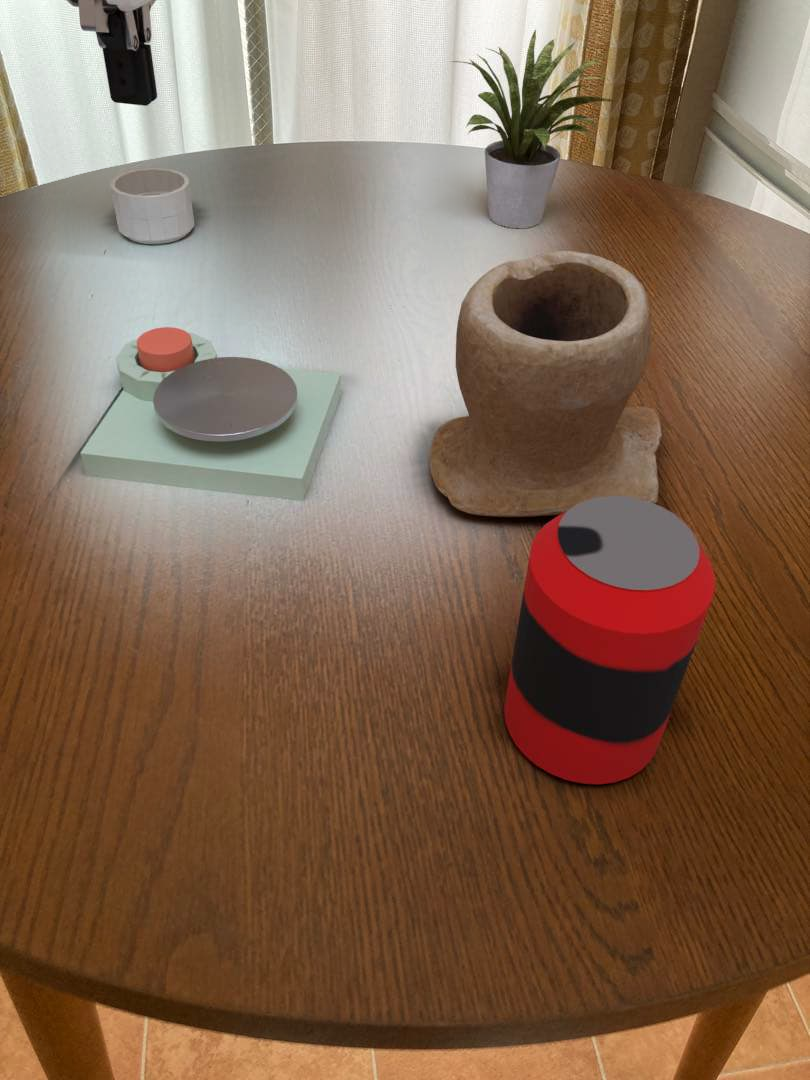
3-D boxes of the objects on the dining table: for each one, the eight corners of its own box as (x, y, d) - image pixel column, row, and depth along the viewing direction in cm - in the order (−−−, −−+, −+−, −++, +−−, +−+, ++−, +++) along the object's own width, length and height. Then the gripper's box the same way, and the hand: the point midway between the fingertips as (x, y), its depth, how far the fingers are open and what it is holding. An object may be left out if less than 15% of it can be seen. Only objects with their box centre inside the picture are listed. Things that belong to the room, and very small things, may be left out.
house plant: (486, 265, 82) (505, 66, 71) (408, 208, 91) (415, 23, 80) (611, 235, 88) (646, 46, 77) (526, 184, 96) (547, 8, 85)
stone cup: (439, 556, 54) (457, 324, 44) (422, 436, 62) (434, 220, 52) (693, 550, 55) (767, 322, 45) (641, 433, 63) (693, 221, 53)
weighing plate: (133, 433, 56) (131, 426, 55) (180, 356, 62) (179, 350, 62) (278, 449, 55) (277, 442, 55) (311, 370, 62) (310, 363, 61)
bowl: (108, 242, 83) (98, 193, 80) (135, 212, 88) (127, 165, 85) (181, 249, 82) (174, 200, 79) (204, 219, 87) (198, 171, 84)
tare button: (132, 371, 62) (128, 351, 60) (150, 344, 64) (147, 324, 63) (184, 376, 61) (181, 356, 60) (201, 349, 64) (198, 329, 63)
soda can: (492, 665, 48) (519, 483, 40) (636, 660, 48) (691, 479, 40) (516, 793, 42) (553, 611, 34) (678, 785, 43) (752, 605, 34)
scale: (74, 475, 58) (62, 430, 56) (145, 370, 67) (137, 327, 65) (303, 502, 57) (301, 457, 54) (343, 391, 66) (342, 348, 64)
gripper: (91, -184, 54) (140, 137, 67) (186, -200, 65) (213, 78, 78) (-25, -192, 55) (44, 126, 68) (87, -206, 66) (129, 70, 79)
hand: (134, 100), depth 73 cm, fingers closed
